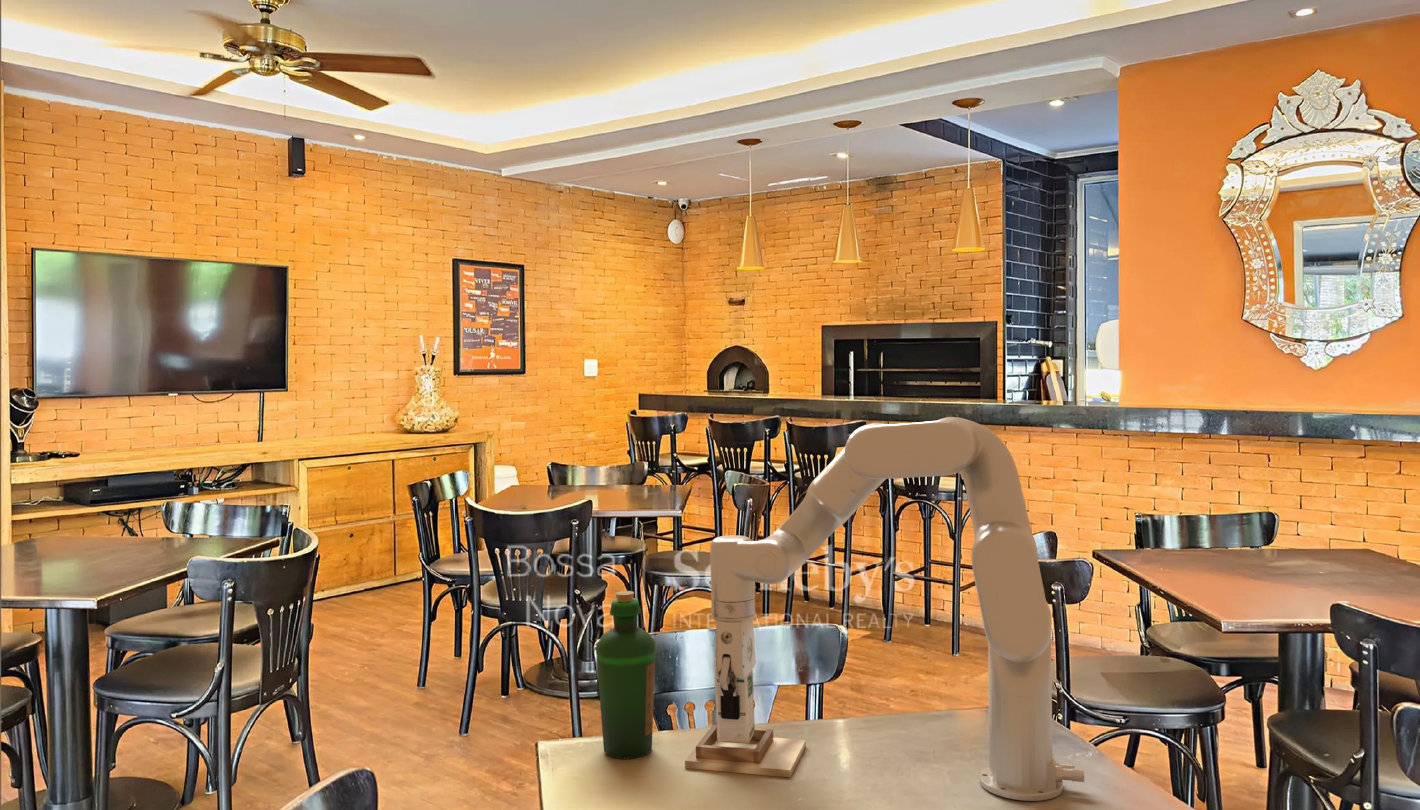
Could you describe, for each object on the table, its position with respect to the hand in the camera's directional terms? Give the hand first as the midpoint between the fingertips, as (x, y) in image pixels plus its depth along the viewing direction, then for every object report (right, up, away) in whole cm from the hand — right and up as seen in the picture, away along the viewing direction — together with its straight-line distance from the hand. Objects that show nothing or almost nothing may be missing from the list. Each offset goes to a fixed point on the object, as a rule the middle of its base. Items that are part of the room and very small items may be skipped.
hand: (735, 711), depth 171 cm
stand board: (+2, -8, 0) cm, 8 cm away
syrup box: (0, -5, 0) cm, 5 cm away
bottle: (-19, -8, +3) cm, 21 cm away
